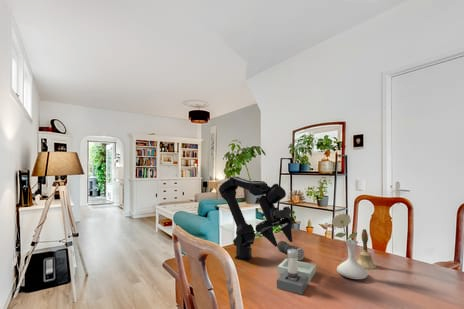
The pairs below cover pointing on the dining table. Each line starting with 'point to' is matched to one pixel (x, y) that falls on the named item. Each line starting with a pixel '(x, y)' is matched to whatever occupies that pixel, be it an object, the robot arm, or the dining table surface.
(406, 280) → the dining table surface
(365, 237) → the hand bell
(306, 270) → the parts tray
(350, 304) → the dining table surface
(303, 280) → the socket block
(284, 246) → the flashlight
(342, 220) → the flower in vase
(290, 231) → the robot arm
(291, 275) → the frosted bulb
